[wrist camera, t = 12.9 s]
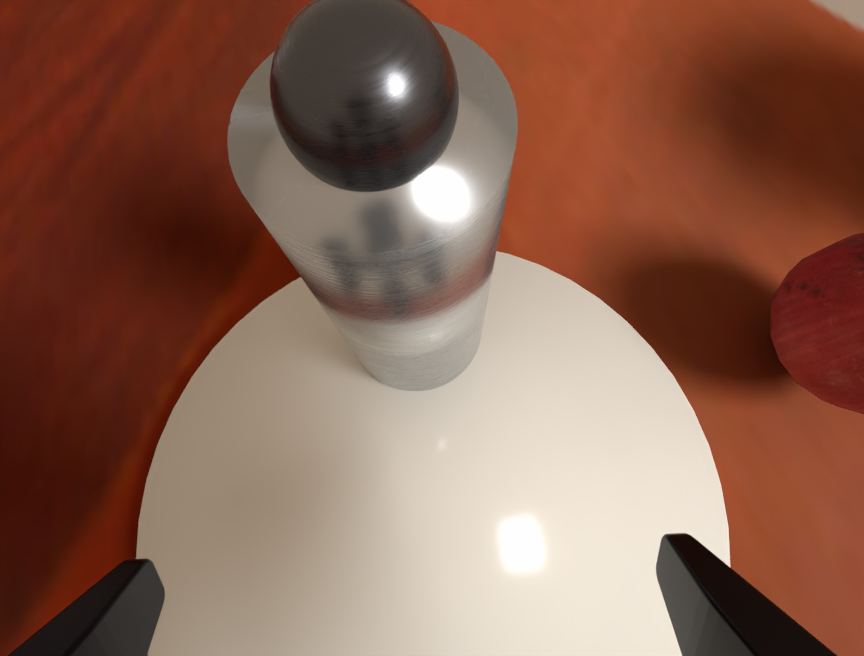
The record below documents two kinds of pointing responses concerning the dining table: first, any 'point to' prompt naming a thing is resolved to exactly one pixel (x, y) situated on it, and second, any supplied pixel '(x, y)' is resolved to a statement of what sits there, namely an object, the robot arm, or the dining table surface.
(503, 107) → the pepper mill
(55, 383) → the dining table surface
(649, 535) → the plate
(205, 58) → the dining table surface
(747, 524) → the dining table surface
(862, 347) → the onion
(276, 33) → the dining table surface
